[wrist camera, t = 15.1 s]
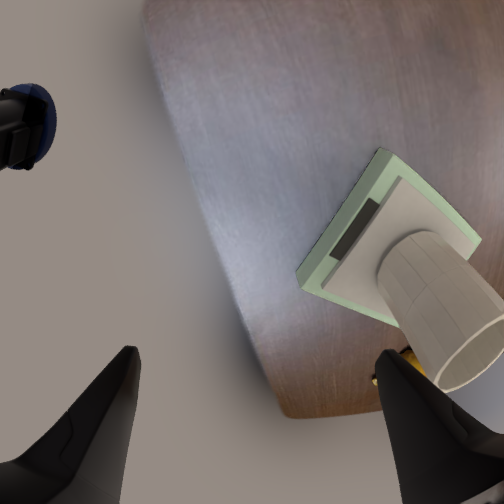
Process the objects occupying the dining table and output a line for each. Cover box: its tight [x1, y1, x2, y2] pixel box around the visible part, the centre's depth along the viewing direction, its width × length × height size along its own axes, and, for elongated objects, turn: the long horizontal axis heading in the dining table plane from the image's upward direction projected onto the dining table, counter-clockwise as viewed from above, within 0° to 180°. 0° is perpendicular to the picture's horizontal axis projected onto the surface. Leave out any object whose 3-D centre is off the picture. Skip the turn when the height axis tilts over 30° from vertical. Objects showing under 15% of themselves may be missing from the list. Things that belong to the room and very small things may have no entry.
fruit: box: [372, 350, 427, 386], centre depth 31 cm, size 8×8×4 cm
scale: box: [296, 148, 482, 328], centre depth 22 cm, size 14×12×3 cm
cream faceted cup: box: [377, 231, 504, 393], centre depth 17 cm, size 7×7×10 cm
